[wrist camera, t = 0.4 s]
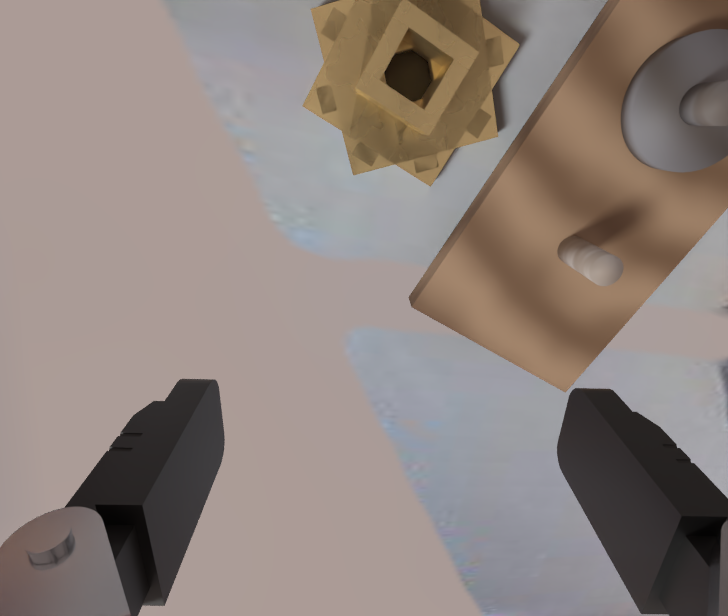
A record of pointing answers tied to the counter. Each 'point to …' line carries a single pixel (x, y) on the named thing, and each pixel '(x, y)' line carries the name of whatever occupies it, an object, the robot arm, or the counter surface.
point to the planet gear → (388, 107)
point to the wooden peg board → (594, 192)
